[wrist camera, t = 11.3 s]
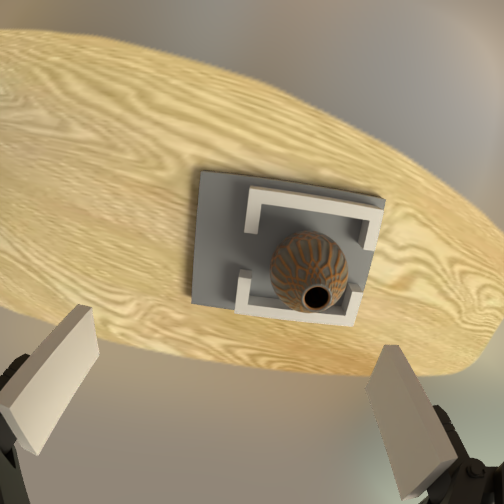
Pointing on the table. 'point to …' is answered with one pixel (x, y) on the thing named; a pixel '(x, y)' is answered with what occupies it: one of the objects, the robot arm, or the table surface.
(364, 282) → the board
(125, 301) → the table surface
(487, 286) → the table surface
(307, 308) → the vase
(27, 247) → the table surface
